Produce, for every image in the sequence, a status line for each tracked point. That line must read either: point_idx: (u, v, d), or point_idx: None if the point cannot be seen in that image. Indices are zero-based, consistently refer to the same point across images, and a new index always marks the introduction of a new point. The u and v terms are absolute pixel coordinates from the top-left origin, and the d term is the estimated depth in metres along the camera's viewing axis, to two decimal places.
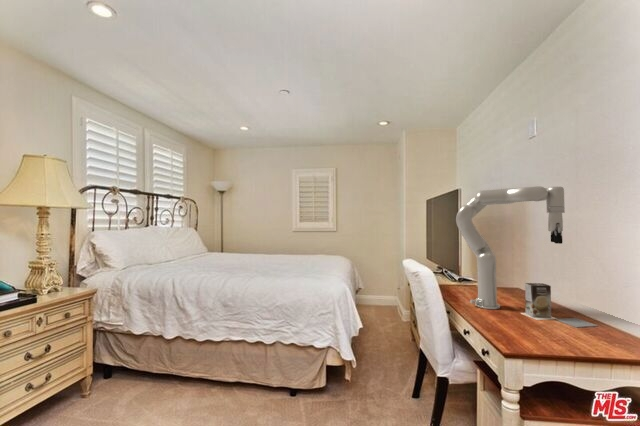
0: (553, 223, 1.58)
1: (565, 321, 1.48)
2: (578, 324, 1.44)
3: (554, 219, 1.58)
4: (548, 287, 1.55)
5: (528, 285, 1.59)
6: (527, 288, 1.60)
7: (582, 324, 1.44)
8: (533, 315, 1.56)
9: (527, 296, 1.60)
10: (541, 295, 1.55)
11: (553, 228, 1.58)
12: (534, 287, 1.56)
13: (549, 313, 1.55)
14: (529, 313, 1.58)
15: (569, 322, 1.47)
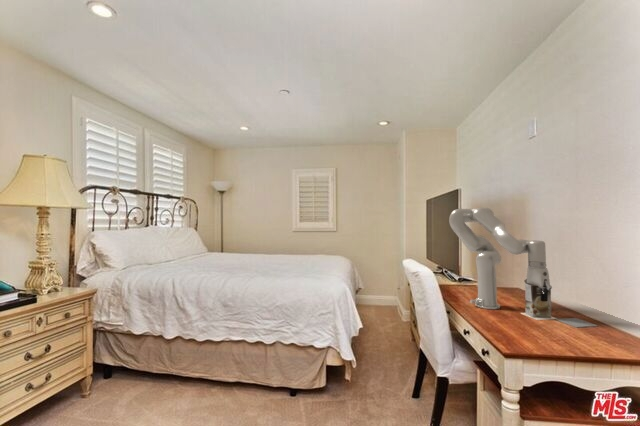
0: None
1: (565, 321, 1.48)
2: (578, 324, 1.44)
3: None
4: None
5: (528, 285, 1.59)
6: (527, 288, 1.60)
7: (582, 324, 1.44)
8: (533, 315, 1.56)
9: (527, 296, 1.60)
10: None
11: None
12: (534, 287, 1.56)
13: (549, 313, 1.55)
14: (529, 313, 1.58)
15: (569, 322, 1.47)
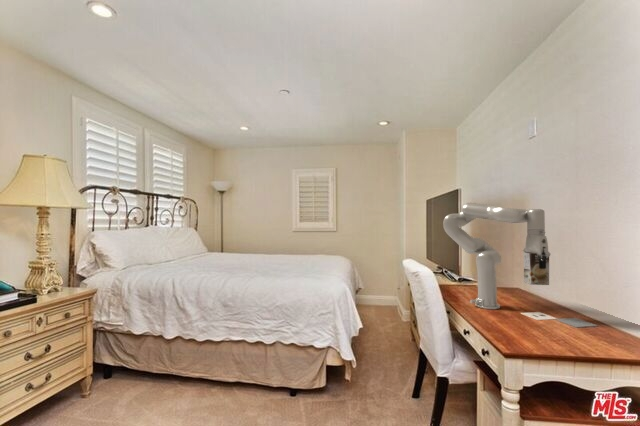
0: None
1: (565, 321, 1.48)
2: (578, 324, 1.44)
3: None
4: None
5: (527, 253, 1.60)
6: (526, 256, 1.60)
7: (582, 324, 1.44)
8: (531, 283, 1.56)
9: (525, 264, 1.60)
10: None
11: None
12: (533, 255, 1.56)
13: (547, 281, 1.55)
14: (527, 281, 1.59)
15: (569, 322, 1.47)
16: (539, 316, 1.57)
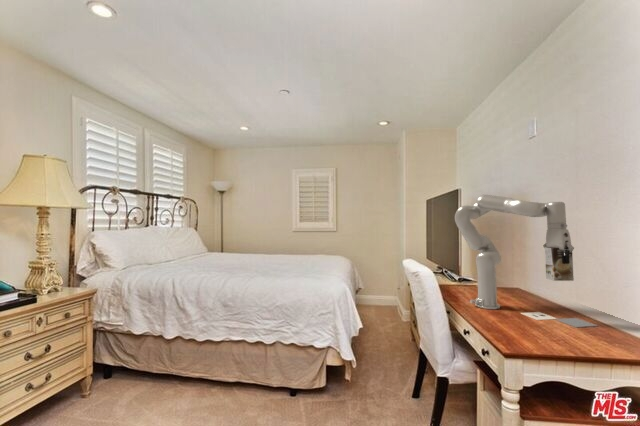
0: None
1: (565, 321, 1.48)
2: (578, 324, 1.44)
3: None
4: None
5: (548, 248, 1.53)
6: (547, 252, 1.54)
7: (582, 324, 1.44)
8: (555, 279, 1.49)
9: (547, 260, 1.54)
10: None
11: None
12: (555, 249, 1.50)
13: (571, 276, 1.48)
14: (550, 277, 1.52)
15: (569, 322, 1.47)
16: (539, 316, 1.57)
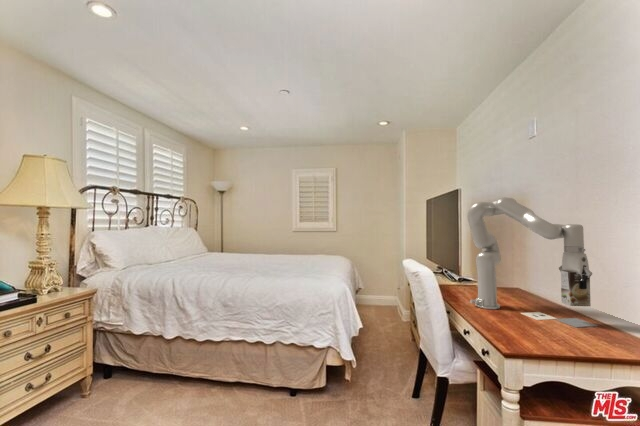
0: None
1: (565, 321, 1.48)
2: (578, 324, 1.44)
3: None
4: None
5: (564, 272, 1.48)
6: (563, 275, 1.49)
7: (582, 324, 1.44)
8: (571, 304, 1.45)
9: (563, 284, 1.49)
10: None
11: None
12: (572, 274, 1.45)
13: (588, 302, 1.44)
14: (566, 302, 1.47)
15: (569, 322, 1.47)
16: (539, 316, 1.57)
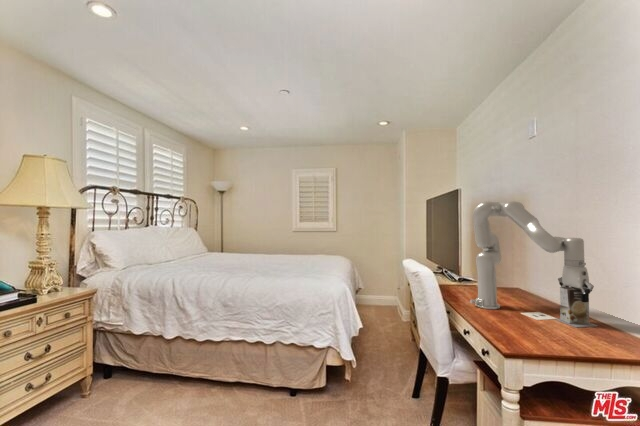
0: None
1: None
2: (578, 324, 1.44)
3: None
4: None
5: (564, 289, 1.49)
6: (562, 292, 1.49)
7: (582, 324, 1.44)
8: (570, 321, 1.45)
9: (562, 301, 1.49)
10: (579, 300, 1.45)
11: None
12: (571, 291, 1.45)
13: (587, 319, 1.44)
14: (565, 319, 1.47)
15: None
16: (539, 316, 1.57)
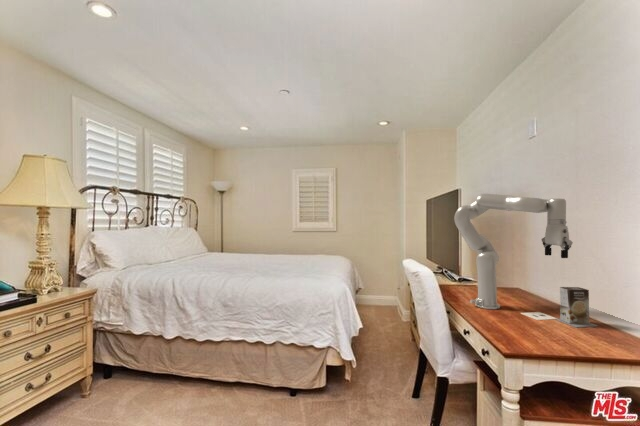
0: None
1: None
2: (578, 324, 1.44)
3: None
4: (586, 291, 1.45)
5: (564, 289, 1.49)
6: (562, 292, 1.49)
7: (582, 324, 1.44)
8: (570, 321, 1.45)
9: (562, 301, 1.49)
10: (579, 300, 1.45)
11: None
12: (571, 291, 1.45)
13: (587, 319, 1.44)
14: (565, 319, 1.47)
15: None
16: (539, 316, 1.57)
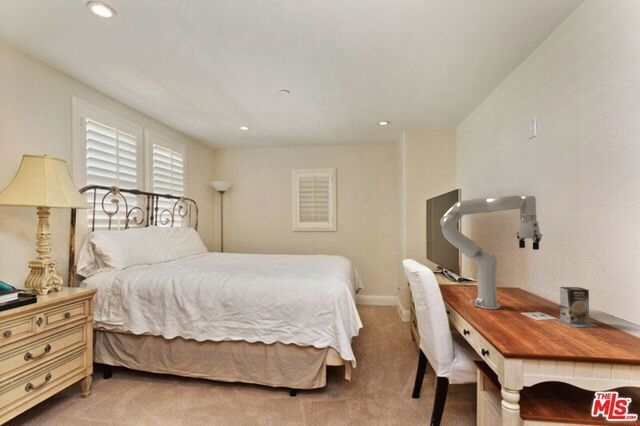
0: None
1: None
2: (578, 324, 1.44)
3: None
4: (586, 291, 1.45)
5: (564, 289, 1.49)
6: (562, 292, 1.49)
7: (582, 324, 1.44)
8: (570, 321, 1.45)
9: (562, 301, 1.49)
10: (579, 300, 1.45)
11: None
12: (571, 291, 1.45)
13: (587, 319, 1.44)
14: (565, 319, 1.47)
15: None
16: (539, 316, 1.57)
